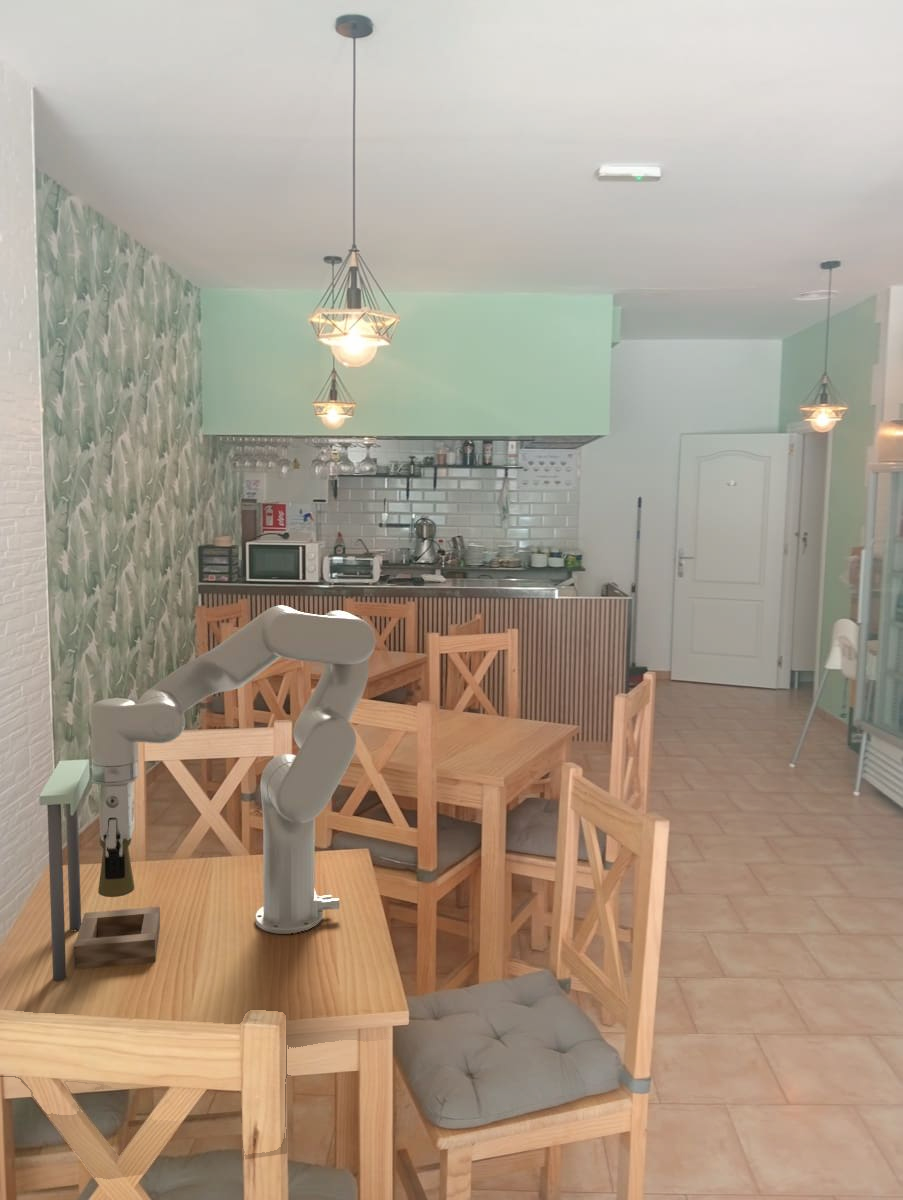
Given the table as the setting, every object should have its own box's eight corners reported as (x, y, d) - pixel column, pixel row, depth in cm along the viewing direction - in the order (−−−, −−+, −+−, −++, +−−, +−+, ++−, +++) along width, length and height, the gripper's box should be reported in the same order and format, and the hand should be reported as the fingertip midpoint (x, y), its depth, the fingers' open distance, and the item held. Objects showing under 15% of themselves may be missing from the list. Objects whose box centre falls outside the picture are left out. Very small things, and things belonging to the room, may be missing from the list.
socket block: (159, 927, 175) (159, 906, 175) (155, 961, 163) (154, 939, 162) (85, 933, 172) (84, 912, 172) (74, 969, 160) (74, 946, 159)
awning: (93, 924, 176) (89, 759, 172) (78, 979, 157) (72, 794, 153) (64, 927, 175) (59, 760, 171) (45, 982, 155) (39, 796, 152)
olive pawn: (122, 898, 163) (122, 836, 161) (91, 894, 164) (89, 833, 163) (141, 884, 169) (140, 824, 167) (110, 881, 170) (109, 821, 168)
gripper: (133, 784, 157) (135, 890, 159) (141, 756, 173) (142, 853, 175) (85, 786, 155) (87, 894, 157) (98, 758, 171) (99, 855, 173)
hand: (116, 871), depth 166 cm, fingers closed on olive pawn, 4 cm apart
